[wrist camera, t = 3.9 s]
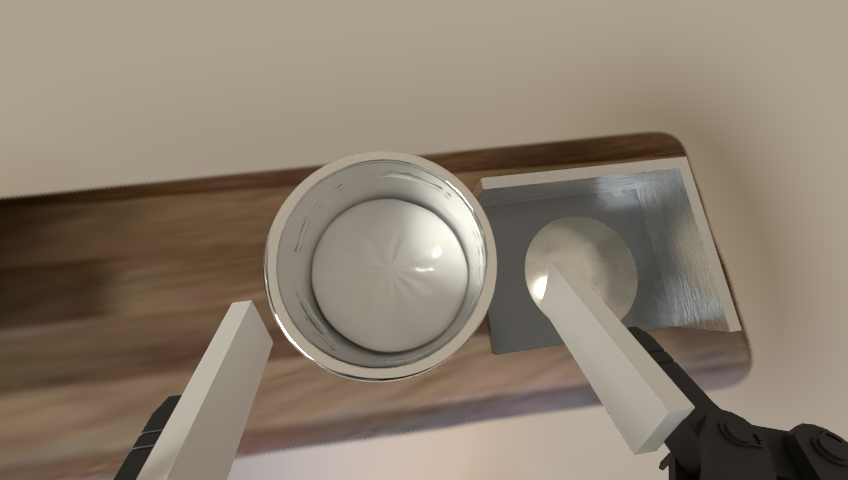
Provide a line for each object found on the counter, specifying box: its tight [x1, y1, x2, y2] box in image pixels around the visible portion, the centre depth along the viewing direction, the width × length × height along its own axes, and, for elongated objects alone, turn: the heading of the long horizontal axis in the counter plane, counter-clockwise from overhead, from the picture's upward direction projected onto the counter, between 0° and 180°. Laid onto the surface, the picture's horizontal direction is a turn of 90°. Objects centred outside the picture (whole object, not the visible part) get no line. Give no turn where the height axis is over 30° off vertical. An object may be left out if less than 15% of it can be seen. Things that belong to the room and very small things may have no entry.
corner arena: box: [472, 157, 741, 355], centre depth 22 cm, size 15×12×5 cm
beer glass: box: [263, 151, 497, 382], centre depth 16 cm, size 7×7×15 cm
